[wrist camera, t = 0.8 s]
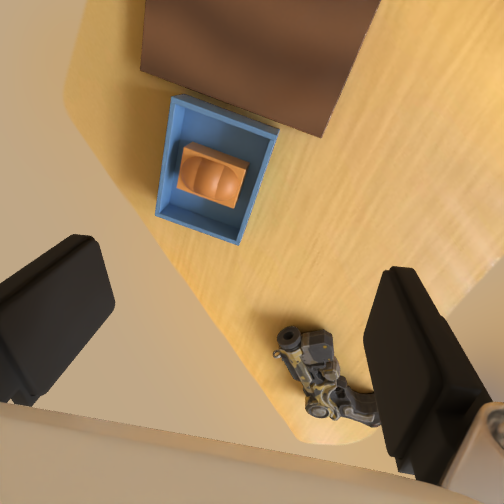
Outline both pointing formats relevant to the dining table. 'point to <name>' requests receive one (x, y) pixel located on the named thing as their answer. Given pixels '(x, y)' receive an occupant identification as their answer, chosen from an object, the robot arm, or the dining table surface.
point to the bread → (212, 174)
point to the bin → (221, 139)
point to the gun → (323, 377)
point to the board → (259, 52)
